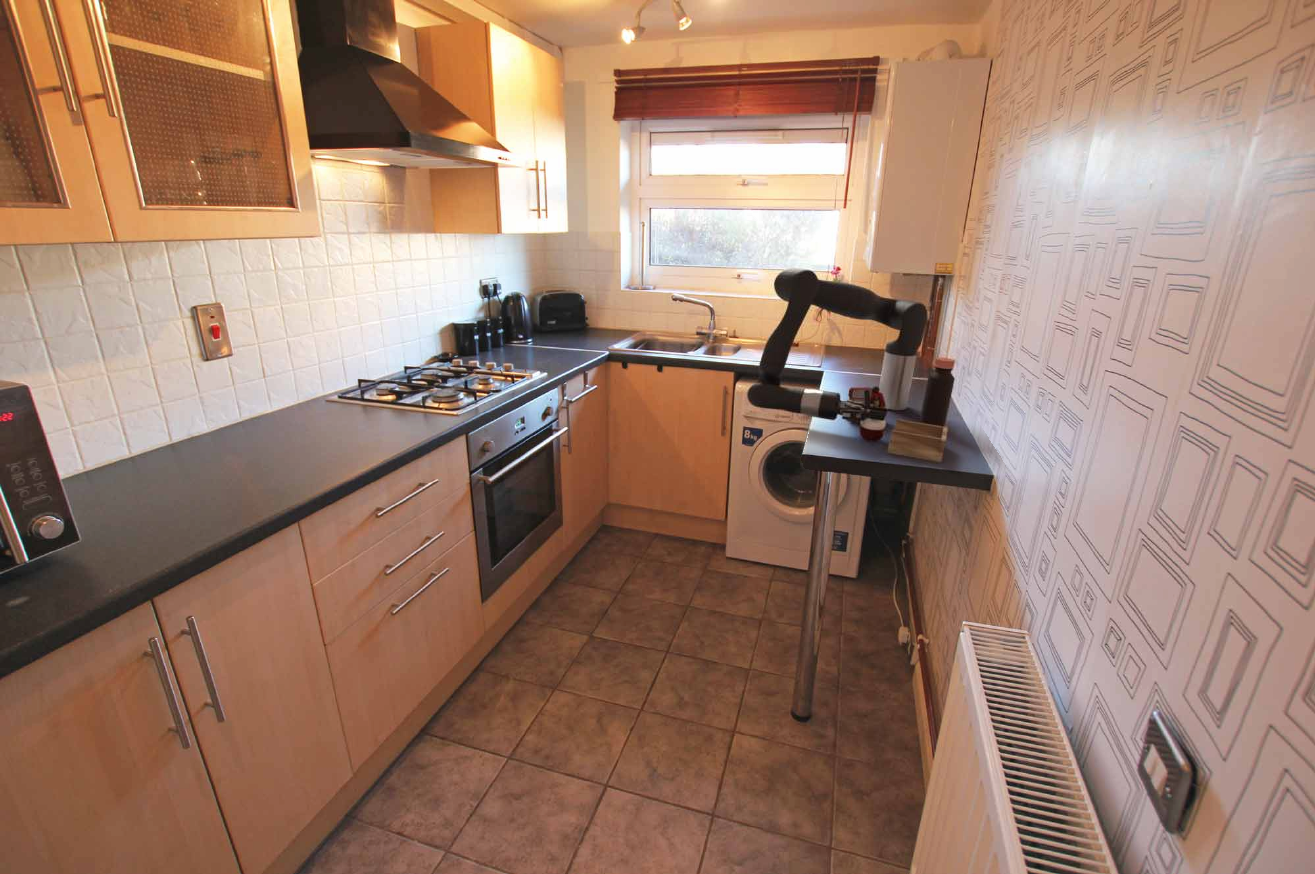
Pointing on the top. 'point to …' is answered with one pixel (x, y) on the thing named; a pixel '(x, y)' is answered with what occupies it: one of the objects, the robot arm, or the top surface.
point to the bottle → (938, 393)
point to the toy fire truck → (874, 392)
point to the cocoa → (871, 423)
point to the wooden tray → (918, 440)
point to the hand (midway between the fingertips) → (885, 414)
